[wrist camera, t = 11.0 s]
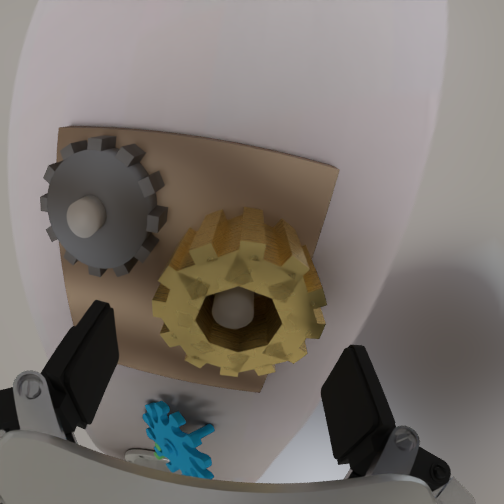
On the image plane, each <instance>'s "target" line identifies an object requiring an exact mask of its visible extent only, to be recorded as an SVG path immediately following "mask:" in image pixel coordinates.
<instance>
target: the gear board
mask: <svg viewBox="0 0 504 504" xmlns="http://www.w3.org/2000/svg"><path fill="white" fill-rule="evenodd" d="M338 173H339V169H337V168H336V167H334V166H331V165H328V164H324V163H321V162H317V161H314V160H310V159H306V158H302V157H298V156H294V155H290V154H286V153H282V152H278V151H273V150H269V149H264V148H260V147H255V146H250V145H245V144H240V143H235V142H229V141H224V140H218V139H212V138H206V137H199V136H193V135H186V134H178V133H170V132H161V131H152V130H141V129H129V128H114V127H91V126H68V127H61V128H59V131H58V144H57V162H56V163H54V164H51V165H48V168H47V170H46V173H45V175H44V177H43V178H44V179H45V180H46V181H47V182H48V183H49V189H48V193H47V194H45V195H43V196H41V197H40V203H41V211H45V212H48V215H49V220H50V223H51V226H50V227H49V228H47V229H46V231H47V233H48V235H49V237H50V239H51V241H52V242H53V241H55V240H57V239H58V240H59V246H60V254H61V262H62V269H63V275H64V282H65V287H66V293H67V298H68V303H69V307H70V312H71V316H72V321H73V325H74V326H76V325H77V324H78V322H79V321H80V320H81V318H82V317H83V315H84V314H85V313H86V311H87V310H88V309H89V307H90V306H91V305H92V303H93V302H94V301H95V300H100V301H103V302H107V303H109V304H110V307H111V308H113V309H114V317H115V326H116V334H117V342H118V349H119V360H118V363H117V364H120V365H123V366H127V367H130V368H134V369H137V370H141V371H145V372H149V373H153V374H157V375H161V376H165V377H169V378H174V379H178V380H183V381H188V382H193V383H198V384H203V385H209V386H215V387H221V388H227V389H234V390H242V391H250V392H258V393H260V391H261V389H262V387H263V384H264V382H265V380H266V377H267V375H268V374H265V375H260V376H258V375H257V373H256V371H255V370H254V369H252V370H248V371H243V372H239V373H238V377H234V376H226V375H220V368H221V367H218V366H215V365H212V364H209V363H206V364H205V365H204V366H202V367H201V368H198V367H196V366H194V365H193V364H191V363H189V362H187V361H185V357H186V352H185V351H184V350H183V348H182V347H181V346H180V345H179V346H174V347H169V346H168V345H167V343H166V342H165V341H164V339H163V338H162V337H161V335H160V332H161V329H162V327H163V324H164V322H163V320H162V319H161V318H158V317H153V310H152V299H153V297H154V295H155V293H156V291H157V289H158V287H159V285H160V282H158V279H159V277H160V276H161V274H162V272H163V270H164V268H165V266H166V265H167V263H168V261H169V259H170V257H171V256H172V254H173V252H174V250H175V248H176V247H177V245H178V243H179V241H180V240H181V238H182V237H183V236H184V234H185V233H186V232H187V230H188V229H189V228H190V227H191V228H192V229H193V230H195V231H198V230H199V228H200V226H201V224H202V222H203V220H204V218H205V216H206V215H208V214H210V213H213V212H216V211H218V210H221V209H223V211H224V213H225V216H226V218H227V220H228V219H231V218H234V217H236V216H239V215H242V214H243V210H244V207H249V208H255V209H261V210H263V219H264V223H265V224H267V225H270V226H272V227H274V226H275V225H276V224H277V223H278V222H279V221H280V220H281V219H283V220H285V221H286V222H287V223H288V224H289V225H291V226H292V227H293V228H294V229H295V230H296V233H297V235H298V238H299V241H300V244H301V246H304V245H306V247H307V249H308V252H309V254H310V257H311V259H312V257H313V254H314V251H315V248H316V245H317V242H318V239H319V236H320V233H321V229H322V226H323V223H324V220H325V217H326V214H327V210H328V207H329V204H330V201H331V197H332V194H333V191H334V187H335V184H336V180H337V177H338ZM258 296H262V295H261V294H259V293H256V292H253V291H251V290H248V289H245V288H243V287H240V286H237V287H234V288H231V289H228V290H224V291H221V292H218V293H215V298H214V303H213V308H212V315H213V318H214V319H215V321H216V322H217V323H218V324H220V325H221V326H223V327H226V328H230V329H238V328H242V327H245V326H247V325H248V324H249V323H250V322H251V321H252V319H253V317H254V298H255V297H258Z"/></svg>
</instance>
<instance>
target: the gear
mask: <svg viewBox="0 0 504 504" xmlns="http://www.w3.org/2000/svg"><path fill="white" fill-rule="evenodd" d="M145 407H146V410H147V413H145V414H143V419H144V421H145V422H146V423H147V424H148V425H149V427H150V428H147V429H146V432H147V436H148V437H149V438H150V439H152V440H154V441H155V442H156V443H155V447H154V449H155V451H156V452H154V455H155V457H156V458H157V459H158V460H160V459H162V458H165V457H166V458H168V459H169V460H170V462H168V463H166V466H167V467H168V468H169V470H170V471H171V472H172V473H174V472H176V471H178V470H179V469H180V470H181V472H182V474H181V475H186V476H191V477H198V478H204V479H212V478H213V477H214V475H213V474H212V473H211V472H210V471H209V470H207V469H206V468H208V467H209V466H211V465H212V461H211V458H210V457H209V456H208V455H207V454H203V453H201V452H199V451H198V450H197V449H196V448H195V447H197V446H199V445H201V444H202V442H201V438H203V437H205V436H207V435H208V434H210V433H212V432H214V431H215V429H214V427H213V426H212V425H211V424H207V425H206V426H204V427H202V428H200V429H198V430H196V431H194V432H192V433H190V434H187V433H184V432H182V431H181V430H180V428H179V427H180V426H182V425H184V424H185V423H186V421H185V419H184V418H183V416H182V415H181V414H180V412H179V411H177V412H175V413H173V414H170V415H169V419H168V417H167V413H169V412H170V409H169V406H168V405H167V404H166V403H165V402H163V401H159V402H157V403H155V402H153V403H150V404H147V405H145Z"/></svg>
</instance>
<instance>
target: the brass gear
mask: <svg viewBox="0 0 504 504" xmlns="http://www.w3.org/2000/svg"><path fill="white" fill-rule="evenodd" d="M158 282H160V285H159V287H158V289H157V291H156V293H155V295H154V297H153V299H152V310H153V317H158V318H161V319H162V320H163V322H164V324H163V327H162V329H161V332H160V335H161V337H162V338H163V339H164V341H165V342H166V343H167V345H168V346H169V347H174V346H179V345H180V346H181V347H182V348H183V350H184V351H185V352H186V357H185V361H187V362H189V363H191V364H193V365H194V366H196V367H198V368H201V367H202V366H204V365H205V364H206V363H209V364H212V365H215V366H218V367H221V368H220V375H226V376H234V377H238V373H239V372H243V371H248V370H252V369H254V370H255V371H256V373H257V375H258V376H260V375H265V374H269V373H273V372H275V364H277V363H281V362H285V361H290V362H292V363H293V364H294V363H295V362H297V361H298V360H300V359H301V358H302V357H304V356H305V355H306V354H307V350H306V345H305V339H306V338H313V339H320V336H321V334H322V332H323V329H324V327H325V325H326V324H325V320H324V317H323V314H322V311H321V308H320V307H323V306H326V305H327V303H326V299H325V295H324V291H323V288H322V285H321V283H320V280H319V277H318V275H317V272H316V269H315V267H314V264H313V262H312V259H311V257H310V254H309V252H308V249H307V247H306V245H304V246H301V244H300V241H299V238H298V235H297V233H296V230H295V229H294V228H293V227H292V226H291V225H289V224H288V223H287V222H286V221H285V220H283V219H281V220H280V221H279V222H278V223H277V224H276V225H275V226H274V227H272V226H270V225H267V224H265V223H264V219H263V210H261V209H255V208H249V207H244V210H243V214H242V215H239V216H236V217H234V218H231V219H228V220H227V218H226V216H225V213H224V211H223V209H221V210H218V211H216V212H213V213H210V214H208V215H206V216H205V218H204V220H203V222H202V224H201V226H200V228H199V230H198V231H195V230H193V229H192V228H191V227H190V228H189V229H188V230H187V232H186V233H185V234H184V236H183V237H182V238H181V240H180V241H179V243H178V245H177V247H176V248H175V250H174V252H173V254H172V256H171V257H170V259H169V261H168V263H167V265H166V266H165V268H164V270H163V272H162V274H161V276H160V277H159V279H158ZM237 286H240V287H243V288H245V289H248V290H251V291H253V292H256V293H259V294H261V295H262V296H258V297H255V298H254V317H253V319H252V321H251V322H250V323H249V324H248V325H247V326H245V327H242V328H238V329H230V328H226V327H223V326H221V325H220V324H218V323H217V322H216V321H215V319H214V318H213V315H212V308H213V303H214V298H215V293H218V292H221V291H224V290H228V289H231V288H234V287H237Z"/></svg>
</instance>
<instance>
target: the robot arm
mask: <svg viewBox="0 0 504 504" xmlns="http://www.w3.org/2000/svg"><path fill="white" fill-rule="evenodd" d="M118 360H119V349H118V342H117V334H116V326H115V317H114V309H113V308H111V307H110V304H109V303H107V302H103V301H100V300H95V301H94V302H93V303H92V305H91V306H90V307H89V309H88V310H87V311H86V313H85V314H84V315H83V317H82V318H81V320H80V321H79V322H78V324H77V325H76V326H73V327H72V328H71V329H70V330H69V331H68V333H67V334H66V335H65V337H64V338H63V340H62V341H61V343H60V344H59V346H58V347H57V349H56V350H55V352H54V353H53V355H52V356H51V358H50V359H49V361H48V362H47V364H46V366H45V367H44V369H43V370H42V372H41V373H38V372H36V371H25V372H22V373H21V374H19V375H18V376H17V377H16V379H15V380H14V383H13V387H11V388H8V389H3V390H0V504H475V499H474V497H473V496H472V495H471V494H470V493H469V492H468V491H467V490H466V489H465V488H464V487H463V486H462V485H461V484H460V483H459V482H458V481H457V480H456V479H455V478H454V477H452V478H450V475H451V473H450V468H449V466H448V465H447V463H446V462H445V461H443V460H442V459H440V458H438V457H436V456H435V455H433V454H431V453H429V452H428V451H426V450H424V449H423V448H421V447H419V445H420V440H419V436H418V434H417V433H416V432H415V430H413V429H412V428H410V427H408V426H398V427H396V426H395V420H394V418H393V415H392V412H391V410H390V407H389V405H388V402H387V399H386V397H385V394H384V392H383V389H382V387H381V384H380V382H379V379H378V377H377V375H376V372H375V370H374V368H373V365H372V363H371V360H370V358H369V356H368V353H367V351H366V349H365V347H364V346H362V345H350V346H349V347H348V348H345V349H344V351H343V353H342V354H341V356H340V358H339V360H338V361H337V363H336V365H335V366H334V368H333V370H332V371H331V373H330V375H329V376H328V378H327V380H326V381H325V383H324V384H323V386H322V388H321V397H322V402H323V407H324V411H325V416H326V421H327V426H328V431H329V435H330V441H331V445H332V451H333V456H334V458H335V459H337V461H338V465H340V464H348V463H349V464H350V470H349V472H348V473H347V475H346V476H345V478H344V479H343V480H334V481H323V482H311V483H286V484H285V483H284V484H271V483H269V484H268V483H244V482H231V481H221V480H212V479H204V478H198V477H191V476H186V475H181V474H182V472H181V470H180V469H179V470H178V471H176V472H174V473H172V472H171V471H170V470H169V468H168V467H167V466H166V463H168V462H170V460H169V459H168V458H166V457H165V458H162V459H160V460H158V459H157V458H156V457H155V455H154V451H148V450H140V449H132V450H128V451H126V454H125V460H126V461H124V460H121V459H117V458H114V457H111V456H108V455H105V454H102V453H99V452H96V451H93V450H91V449H88V448H86V447H83V446H81V445H78V443H77V440H76V438H75V435H74V433H73V432H74V431H75V429H76V427H77V426H78V427H81V428H83V429H86V426H87V424H91V423H92V421H93V419H94V416H95V414H96V411H97V409H98V407H99V404H100V402H101V399H102V397H103V395H104V392H105V390H106V388H107V385H108V383H109V381H110V378H111V376H112V374H113V372H114V370H115V367H116V365H117V363H118Z"/></svg>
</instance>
